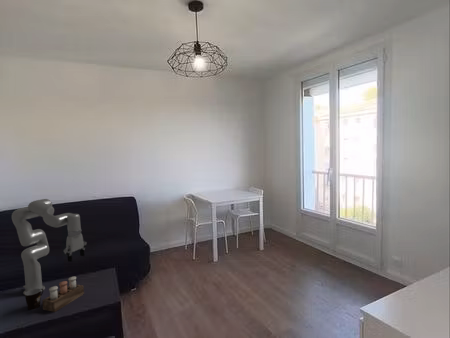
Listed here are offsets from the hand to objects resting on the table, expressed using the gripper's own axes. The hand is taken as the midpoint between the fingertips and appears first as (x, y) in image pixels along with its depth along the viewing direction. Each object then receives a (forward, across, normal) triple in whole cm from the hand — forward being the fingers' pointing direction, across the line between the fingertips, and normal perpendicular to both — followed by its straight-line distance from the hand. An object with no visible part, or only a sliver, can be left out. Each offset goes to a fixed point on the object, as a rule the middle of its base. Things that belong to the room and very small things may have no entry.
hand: (76, 258), depth 183 cm
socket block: (+27, +6, -6) cm, 28 cm away
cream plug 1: (+22, +13, -6) cm, 27 cm away
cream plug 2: (+22, -1, -6) cm, 23 cm away
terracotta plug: (+22, +6, -6) cm, 24 cm away
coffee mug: (+27, +15, -19) cm, 36 cm away
